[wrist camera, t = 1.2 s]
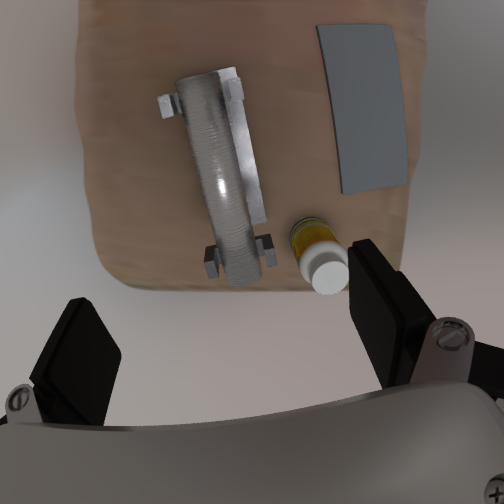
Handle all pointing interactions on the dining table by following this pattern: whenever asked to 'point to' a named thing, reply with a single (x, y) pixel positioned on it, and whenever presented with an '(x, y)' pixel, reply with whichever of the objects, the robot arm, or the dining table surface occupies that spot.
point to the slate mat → (365, 105)
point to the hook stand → (245, 159)
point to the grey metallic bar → (219, 175)
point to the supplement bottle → (320, 256)
